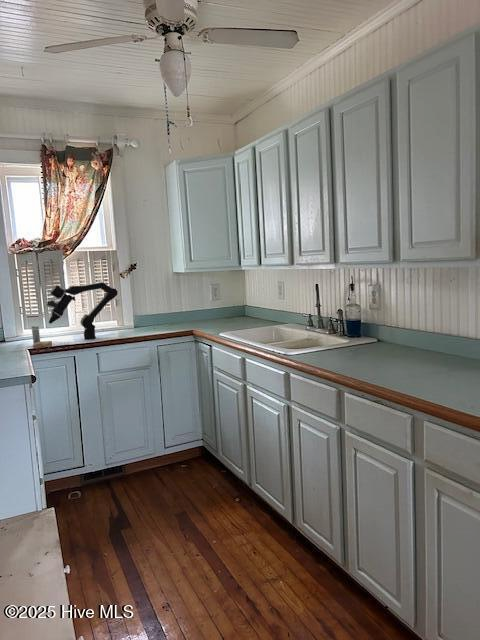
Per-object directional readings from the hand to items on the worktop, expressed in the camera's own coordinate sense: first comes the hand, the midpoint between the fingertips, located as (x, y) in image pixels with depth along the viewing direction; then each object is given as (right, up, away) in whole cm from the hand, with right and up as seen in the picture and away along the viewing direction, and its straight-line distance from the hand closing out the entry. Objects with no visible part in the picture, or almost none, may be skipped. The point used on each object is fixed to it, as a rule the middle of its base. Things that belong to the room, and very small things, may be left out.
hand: (49, 323), depth 303 cm
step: (0, -14, -10) cm, 17 cm away
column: (-7, -14, -3) cm, 15 cm away
